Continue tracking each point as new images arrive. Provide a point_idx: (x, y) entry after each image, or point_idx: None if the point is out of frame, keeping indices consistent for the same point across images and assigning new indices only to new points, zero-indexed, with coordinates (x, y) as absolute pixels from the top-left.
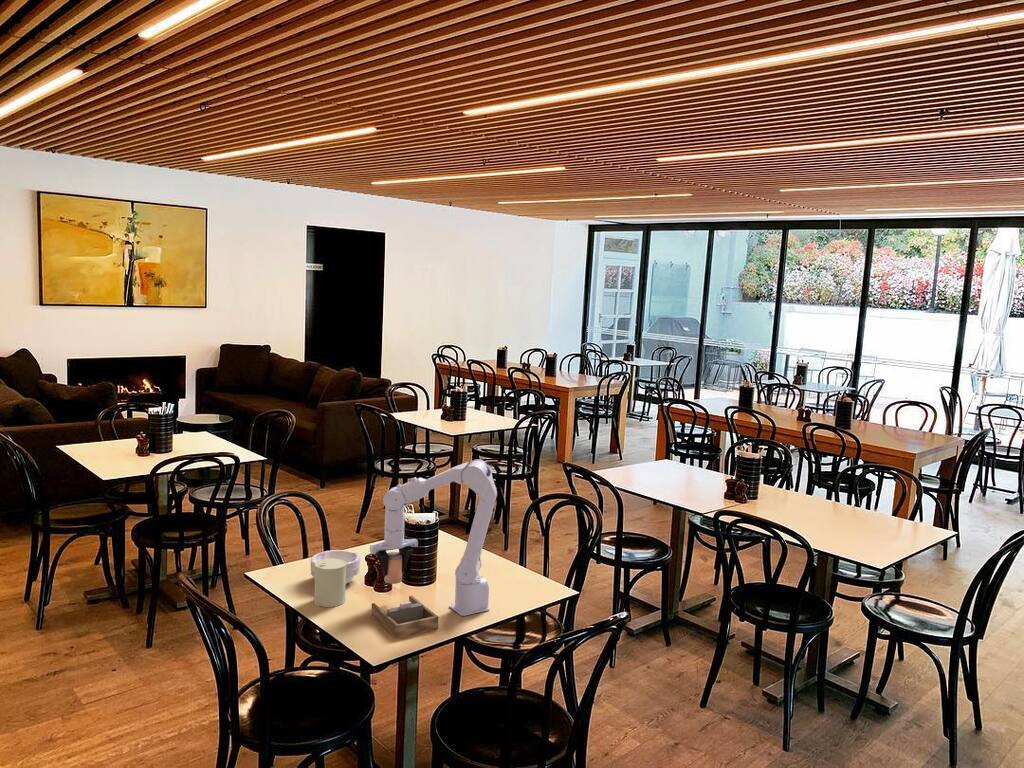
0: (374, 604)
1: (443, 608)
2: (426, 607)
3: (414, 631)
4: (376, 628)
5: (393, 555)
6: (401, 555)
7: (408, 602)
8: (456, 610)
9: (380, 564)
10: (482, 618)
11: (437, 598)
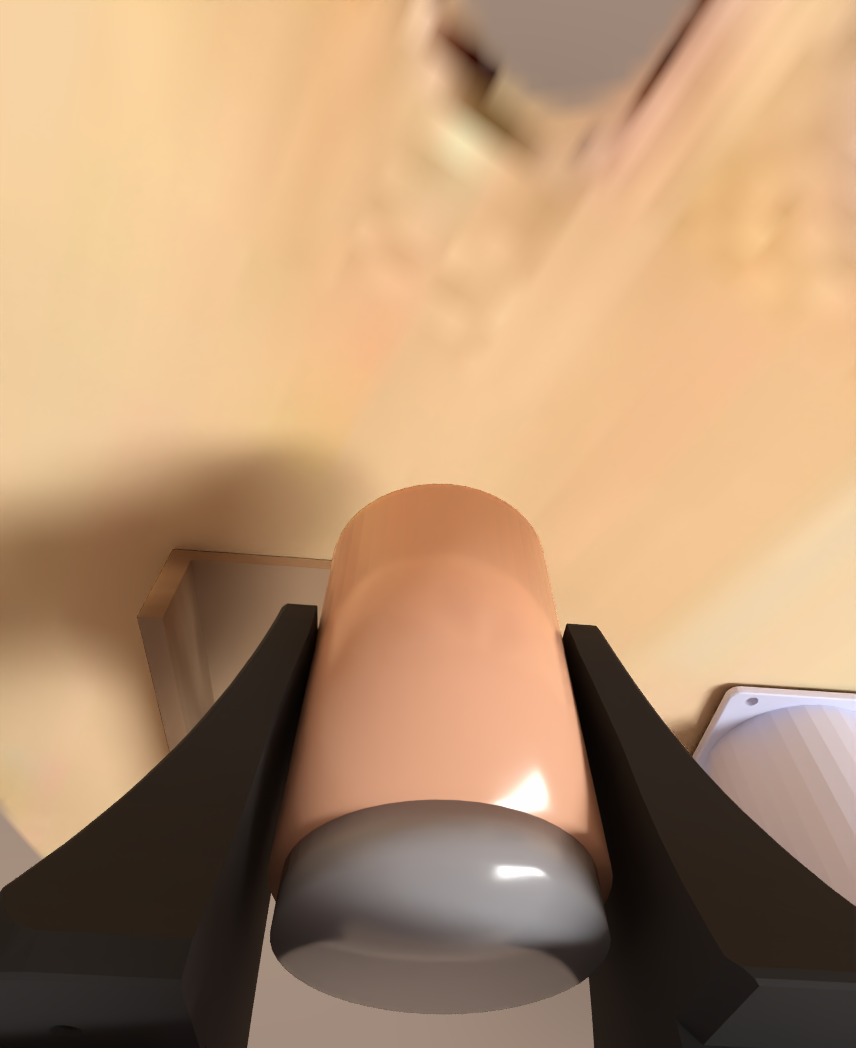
0: (156, 640)
1: (683, 681)
2: None
3: None
4: (150, 699)
5: (405, 970)
6: (552, 985)
7: None
8: (700, 758)
9: (218, 707)
10: None
11: (798, 546)
